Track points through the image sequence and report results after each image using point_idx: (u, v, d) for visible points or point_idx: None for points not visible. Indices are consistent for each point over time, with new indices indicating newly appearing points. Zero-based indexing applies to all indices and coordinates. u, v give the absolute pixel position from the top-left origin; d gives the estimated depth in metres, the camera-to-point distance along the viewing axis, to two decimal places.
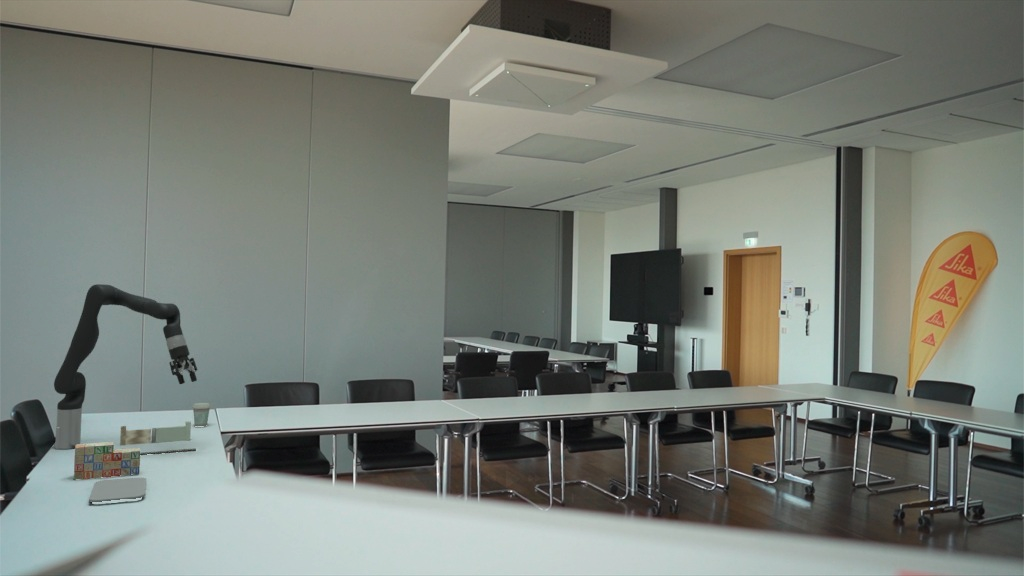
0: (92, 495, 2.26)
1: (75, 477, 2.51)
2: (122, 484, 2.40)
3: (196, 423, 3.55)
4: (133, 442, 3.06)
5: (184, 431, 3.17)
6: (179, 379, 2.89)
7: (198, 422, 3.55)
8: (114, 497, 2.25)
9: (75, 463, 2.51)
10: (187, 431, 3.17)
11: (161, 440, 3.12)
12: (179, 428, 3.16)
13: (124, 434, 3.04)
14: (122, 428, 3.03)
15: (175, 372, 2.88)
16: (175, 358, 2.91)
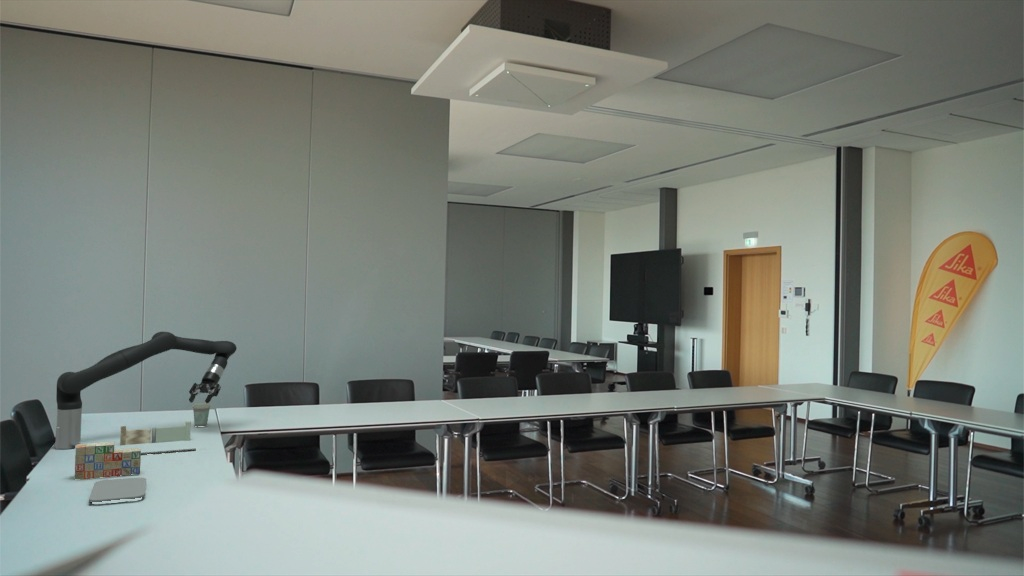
0: (92, 495, 2.26)
1: (76, 477, 2.51)
2: (122, 484, 2.40)
3: (196, 423, 3.55)
4: (133, 442, 3.06)
5: (184, 431, 3.17)
6: (210, 399, 3.30)
7: (198, 422, 3.55)
8: (114, 497, 2.25)
9: (76, 463, 2.51)
10: (187, 431, 3.17)
11: (161, 440, 3.12)
12: (179, 428, 3.16)
13: (124, 434, 3.04)
14: (122, 428, 3.03)
15: (216, 394, 3.32)
16: (215, 383, 3.36)
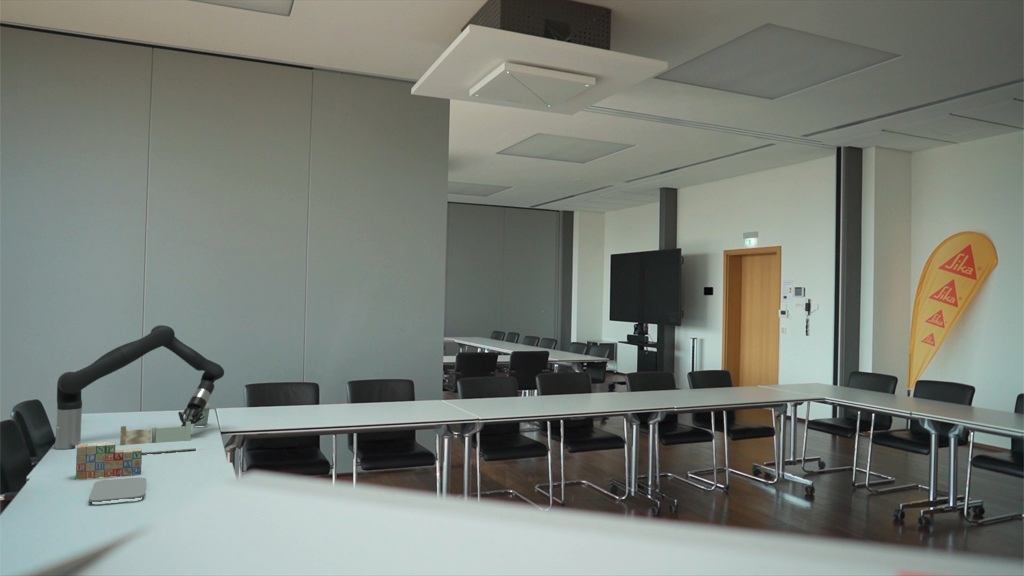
0: (92, 495, 2.26)
1: (77, 477, 2.51)
2: (122, 484, 2.40)
3: (196, 423, 3.55)
4: (133, 442, 3.06)
5: (184, 431, 3.16)
6: None
7: (198, 422, 3.55)
8: (114, 497, 2.25)
9: (77, 463, 2.51)
10: (187, 431, 3.16)
11: (161, 440, 3.12)
12: (179, 428, 3.15)
13: (124, 434, 3.04)
14: (122, 428, 3.03)
15: (194, 421, 3.21)
16: (201, 409, 3.26)
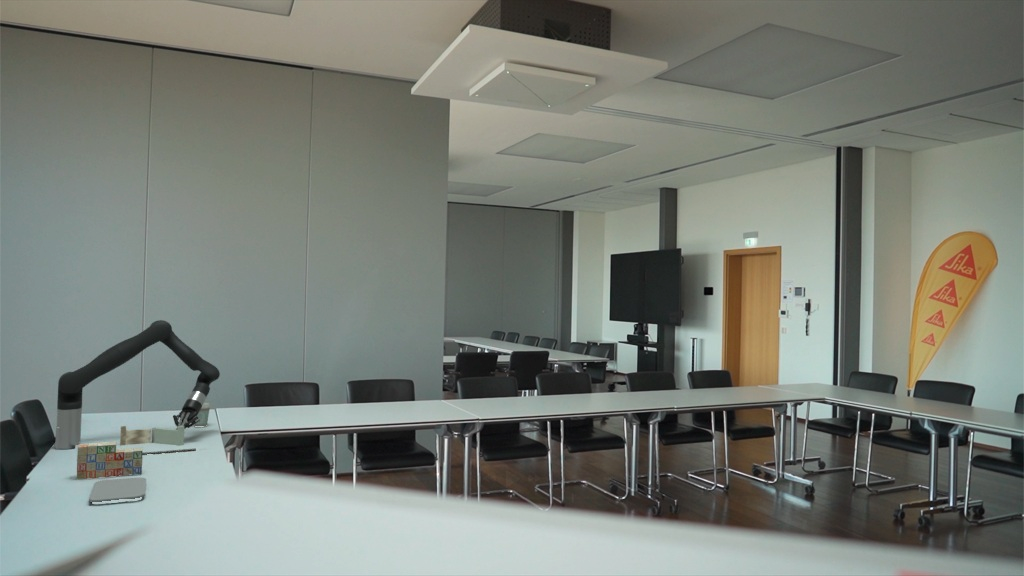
0: (92, 495, 2.26)
1: (78, 477, 2.51)
2: (122, 484, 2.40)
3: (196, 423, 3.55)
4: (133, 442, 3.06)
5: (176, 435, 3.07)
6: None
7: (198, 422, 3.55)
8: (114, 497, 2.25)
9: (78, 463, 2.51)
10: (178, 436, 3.07)
11: (158, 441, 3.09)
12: (172, 431, 3.08)
13: (124, 434, 3.04)
14: (122, 428, 3.03)
15: (189, 425, 3.13)
16: (197, 412, 3.17)
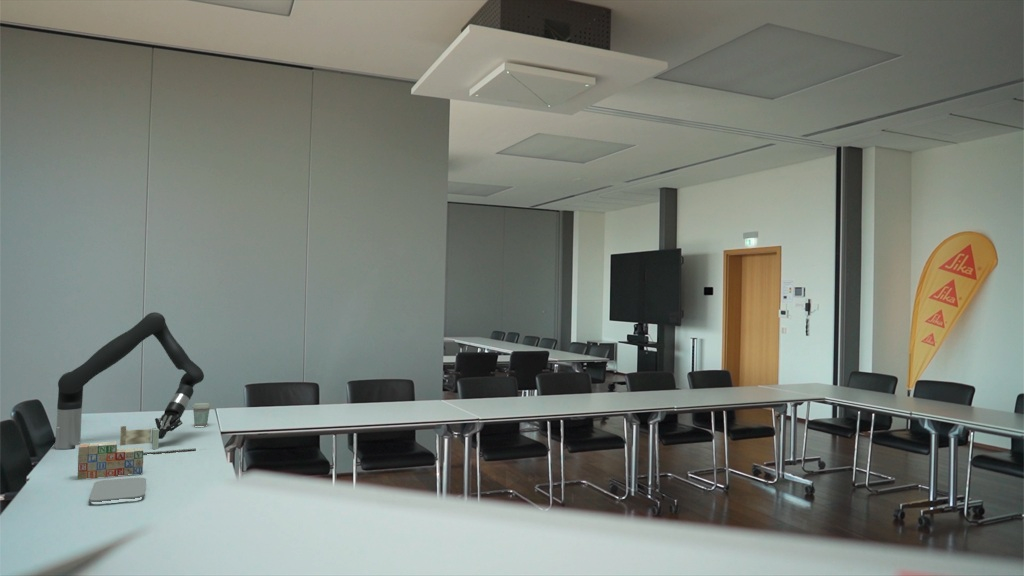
0: (92, 495, 2.26)
1: (79, 476, 2.52)
2: (122, 484, 2.40)
3: (196, 423, 3.55)
4: (133, 442, 3.06)
5: None
6: (164, 434, 3.02)
7: (198, 422, 3.55)
8: (114, 497, 2.25)
9: (79, 463, 2.52)
10: (153, 439, 2.98)
11: (152, 442, 3.07)
12: None
13: (124, 434, 3.04)
14: (122, 428, 3.03)
15: (171, 428, 3.05)
16: (180, 415, 3.09)
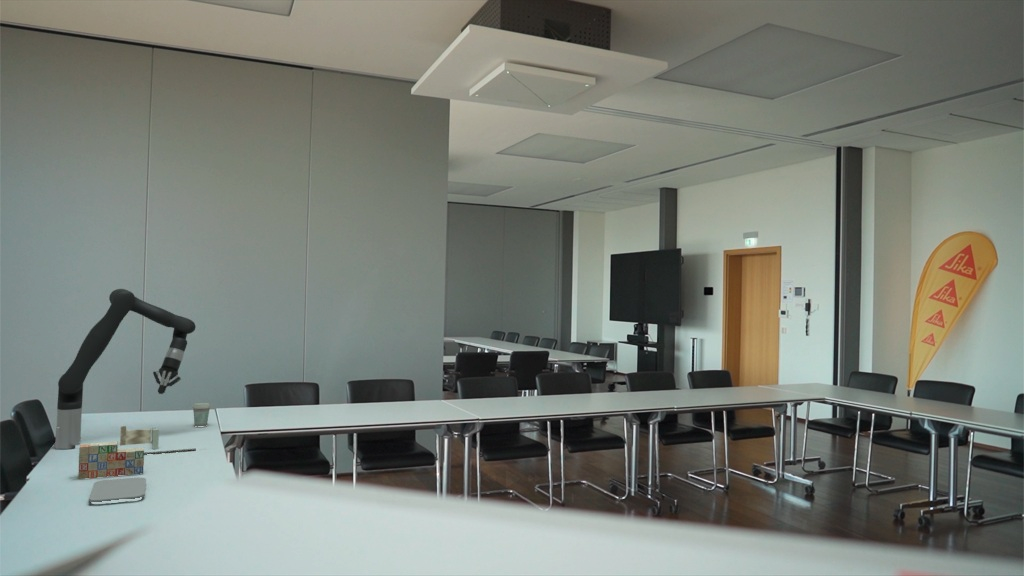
0: (92, 495, 2.26)
1: (79, 476, 2.52)
2: (122, 484, 2.40)
3: (196, 423, 3.55)
4: (133, 442, 3.06)
5: None
6: (164, 390, 3.22)
7: (198, 422, 3.55)
8: (114, 497, 2.25)
9: (79, 462, 2.52)
10: (153, 439, 2.98)
11: (152, 442, 3.07)
12: None
13: (124, 434, 3.04)
14: (122, 428, 3.03)
15: None
16: (177, 370, 3.26)
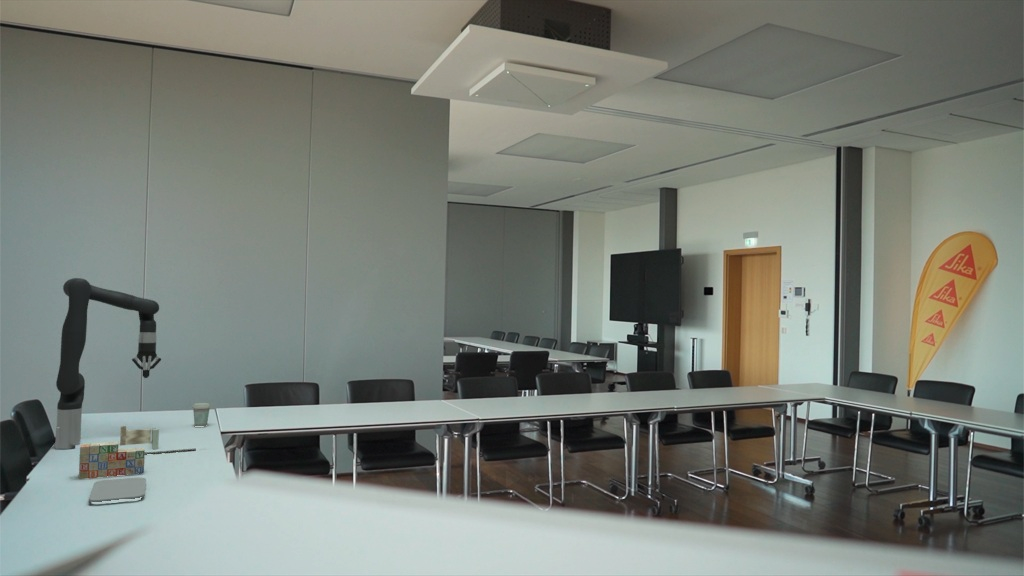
0: (92, 495, 2.26)
1: (80, 476, 2.52)
2: (122, 484, 2.40)
3: (196, 423, 3.55)
4: (133, 442, 3.06)
5: None
6: None
7: (198, 422, 3.55)
8: (114, 497, 2.25)
9: (80, 462, 2.52)
10: (153, 439, 2.98)
11: (152, 442, 3.07)
12: None
13: (124, 434, 3.04)
14: (122, 428, 3.03)
15: (153, 366, 3.27)
16: (155, 351, 3.27)
